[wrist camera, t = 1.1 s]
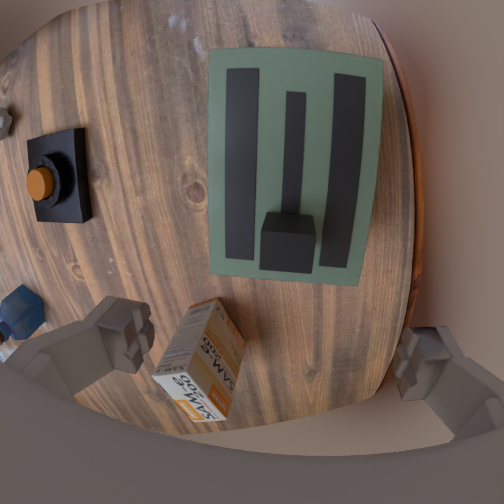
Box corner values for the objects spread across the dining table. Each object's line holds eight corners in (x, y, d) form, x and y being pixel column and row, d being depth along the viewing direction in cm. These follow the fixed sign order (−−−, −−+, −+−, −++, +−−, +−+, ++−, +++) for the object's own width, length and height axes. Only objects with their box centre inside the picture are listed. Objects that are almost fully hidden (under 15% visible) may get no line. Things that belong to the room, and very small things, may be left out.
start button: (33, 168, 28) (24, 171, 26) (52, 165, 27) (42, 168, 26) (37, 197, 30) (28, 201, 28) (55, 196, 29) (46, 200, 28)
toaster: (238, 74, 25) (205, 46, 15) (353, 81, 23) (386, 57, 13) (235, 226, 32) (207, 277, 22) (340, 235, 30) (360, 290, 20)
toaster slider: (266, 211, 19) (260, 230, 15) (313, 215, 18) (316, 234, 15) (265, 245, 20) (258, 270, 16) (309, 249, 19) (311, 274, 16)
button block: (37, 138, 30) (17, 142, 26) (84, 127, 29) (63, 130, 25) (46, 216, 35) (28, 226, 31) (92, 217, 34) (74, 228, 30)
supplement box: (248, 342, 38) (229, 421, 26) (218, 349, 40) (193, 423, 28) (219, 294, 36) (186, 372, 24) (188, 305, 37) (148, 377, 25)
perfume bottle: (25, 306, 45) (-10, 339, 34) (22, 284, 42) (-17, 317, 32) (44, 321, 45) (10, 357, 34) (42, 298, 43) (2, 335, 32)
